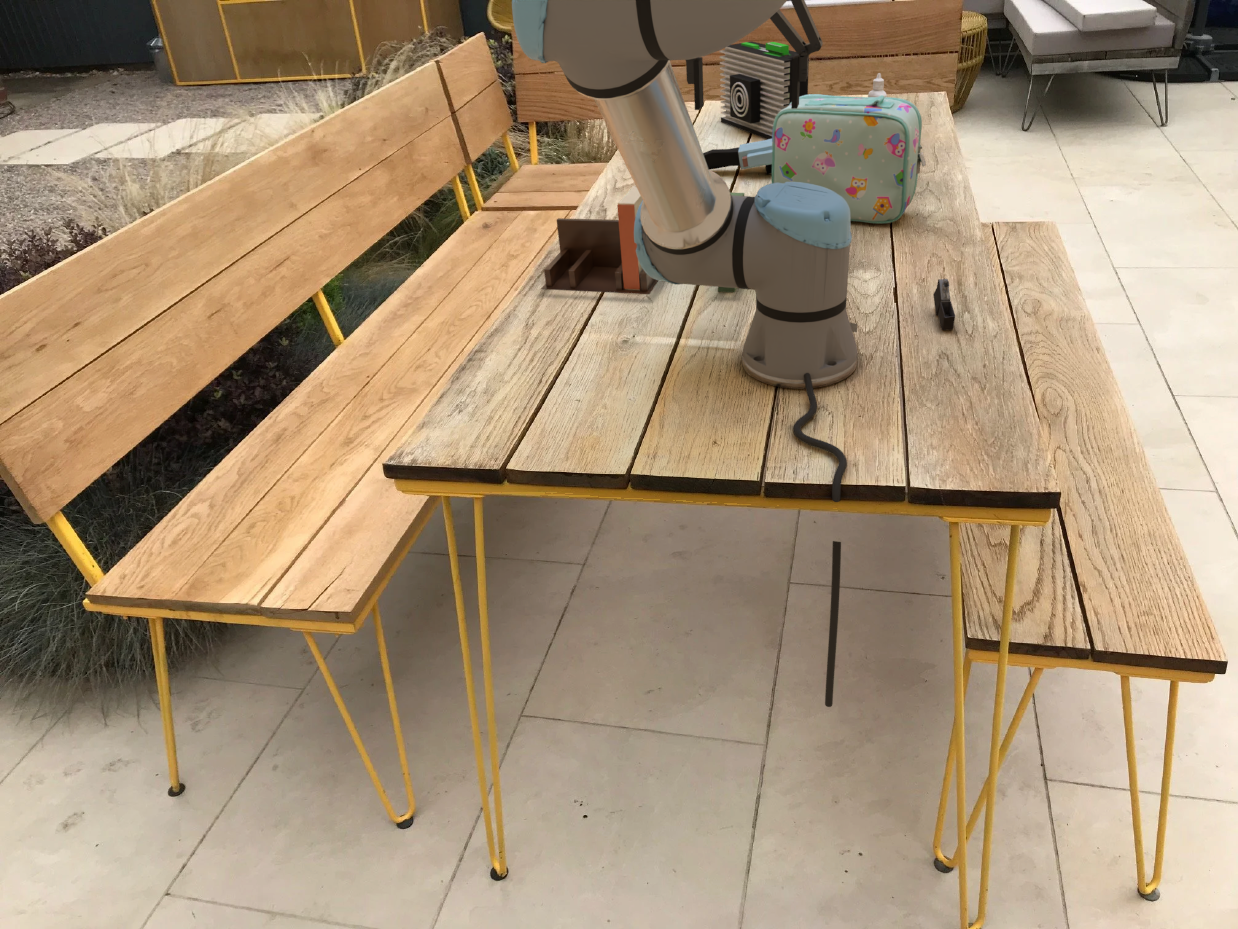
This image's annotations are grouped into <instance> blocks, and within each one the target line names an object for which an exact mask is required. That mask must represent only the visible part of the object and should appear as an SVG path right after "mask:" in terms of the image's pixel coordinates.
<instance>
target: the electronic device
mask: <svg viewBox="0 0 1238 929" xmlns="http://www.w3.org/2000/svg"><path fill="white" fill-rule="evenodd" d="M719 53H721V54H724V55H721V56H719V59H722V60H724V61H720V62H719V65H722V67H719V70H720V71H723V72H721V73H719V76H722V77H723V78H720V80H719V81H720V82H723V83H721V84H719V86H720V87H722V88H724V89H720V91H719V92H720V93H722V95H720V98H722V99H724V100H720V104H722V106H720V109H722V110H724V111H720V114H721V115H724V116H721V117H720V123H723V124H726V125H728V126H730V127H733V128H736V129H738V130H740V131H744V132H746V133H750V134H752V135H755V136H757V137H760V138H762V139H764V140H768V139H772V130H773V123H774V119H775V117H776V115H777V114H778V113H779V112H780V111H781V110H783V109H784V108H786V107H788V106H789V104H790V103H791V102H792V64H793V57H794V55H796V54H798V53H797V52H796V51H795V50H790V44H784V43H781V42H776V41H769V42H766V43H765V44H764V43H760V42H755V41H752V40H751V41H750V40H749V41H746V42H740V43H733V44H731V45H729V46H727V47H725V48H724V49H721V50H719ZM809 62H810V56H809V57H808V71H809V69H810V67H809V65H810V64H809ZM804 95H809V75H808V76H807V79H806V81H805V82H800V88H799V97H801V96H804Z"/></svg>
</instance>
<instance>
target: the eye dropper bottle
mask: <svg viewBox="0 0 1238 929" xmlns="http://www.w3.org/2000/svg"><path fill="white" fill-rule="evenodd" d="M884 86H885V78H882V73H880V72H878V73H877V74H876V78H874V79H873V81H872V90H870V91H868V94H867V97H879V96H881V95H883V96H884V97H888V94H887V92H886V91H885V90H884V88H885V87H884Z"/></svg>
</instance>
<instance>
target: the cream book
mask: <svg viewBox="0 0 1238 929" xmlns="http://www.w3.org/2000/svg"><path fill="white" fill-rule="evenodd" d="M642 200H643V199H642V197H641V195H640V193H639V191H638V189H637V187H636V185H632V187H631V188H629V190H628V191H627V192H626V194H624V195H623V197H621V199H619V201H618V202H617V205H616V206H617V220H619V232H620V245H621V257H622V270H623V282H624V289H625V290H641V277H640V273H641V272H642V270H643V268H642V267H641V265H640V263H639V260H638V258H637V254H636V248H637V244H636V243H635V242H634V223H635V218H636V214H637V210H638V208H639V206H640V204H641V202H642Z"/></svg>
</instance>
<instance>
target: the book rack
mask: <svg viewBox="0 0 1238 929" xmlns="http://www.w3.org/2000/svg"><path fill="white" fill-rule="evenodd" d="M556 228H557V235H558V244H559V245H558V246H559V253H557V255H556V256H555V257H554V258H553V259H552V260H551V261H550V262H549V264H547V266H546V267H545V268H544V269H543V273H544V281H545V284H544V285H543V286H542V287H541V288H540V290H548V291H549V290H550V291H551V290H553V291H569V292H571V291H572V292H592V293H594V292H595V293H614V294H635V295H650V294H651V293H652V291H653V290H654V288H655V287H656V285H657V284H658V282H660V281H659V280H655V279H653V278H651V277H650V276H649V275H648V274H647V273H646V272H645V271H644V270H642V272H641V273H640V277H641V290H625V289H624V282H623V270H622V257H621V245H620V232H619V220H618V219H604V218H603V219H598V218H597V219H596V218H564V217H563V218H562V217H561V218H559V217H558V218H556Z"/></svg>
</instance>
